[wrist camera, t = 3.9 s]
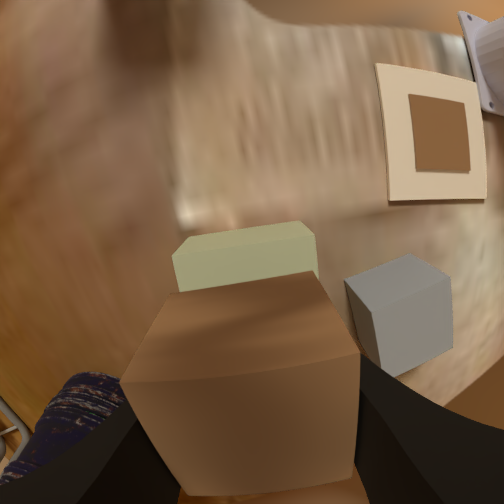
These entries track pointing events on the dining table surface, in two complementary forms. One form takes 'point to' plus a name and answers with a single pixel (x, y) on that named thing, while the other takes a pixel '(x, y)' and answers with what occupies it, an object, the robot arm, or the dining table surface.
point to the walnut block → (249, 387)
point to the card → (431, 135)
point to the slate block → (402, 313)
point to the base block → (245, 255)
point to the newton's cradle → (0, 443)
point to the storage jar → (67, 420)
